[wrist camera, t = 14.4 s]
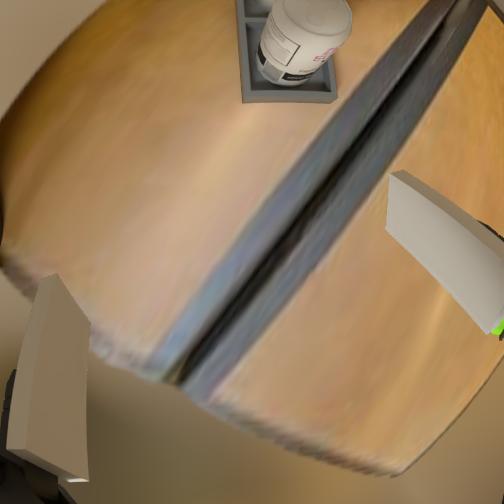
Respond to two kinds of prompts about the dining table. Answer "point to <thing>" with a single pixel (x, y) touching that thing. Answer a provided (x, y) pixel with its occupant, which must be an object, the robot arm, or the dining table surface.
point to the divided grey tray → (260, 88)
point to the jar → (264, 5)
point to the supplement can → (301, 38)
